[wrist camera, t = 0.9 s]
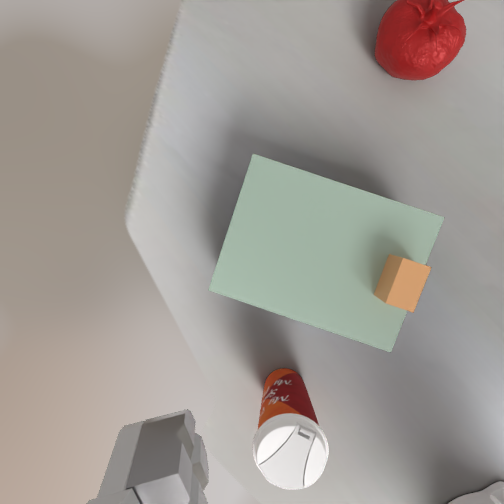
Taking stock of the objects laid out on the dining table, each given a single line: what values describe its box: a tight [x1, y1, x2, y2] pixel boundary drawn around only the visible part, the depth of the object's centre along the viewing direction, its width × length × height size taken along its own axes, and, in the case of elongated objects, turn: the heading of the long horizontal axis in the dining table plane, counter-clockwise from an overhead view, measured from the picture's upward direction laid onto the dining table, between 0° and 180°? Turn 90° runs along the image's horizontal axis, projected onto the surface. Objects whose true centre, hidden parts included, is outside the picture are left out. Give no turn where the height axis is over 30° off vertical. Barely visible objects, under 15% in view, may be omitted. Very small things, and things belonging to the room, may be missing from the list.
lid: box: [208, 154, 445, 353], centre depth 37 cm, size 23×17×5 cm
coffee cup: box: [252, 368, 329, 490], centre depth 42 cm, size 8×8×15 cm
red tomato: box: [375, 0, 466, 80], centre depth 40 cm, size 10×10×9 cm
